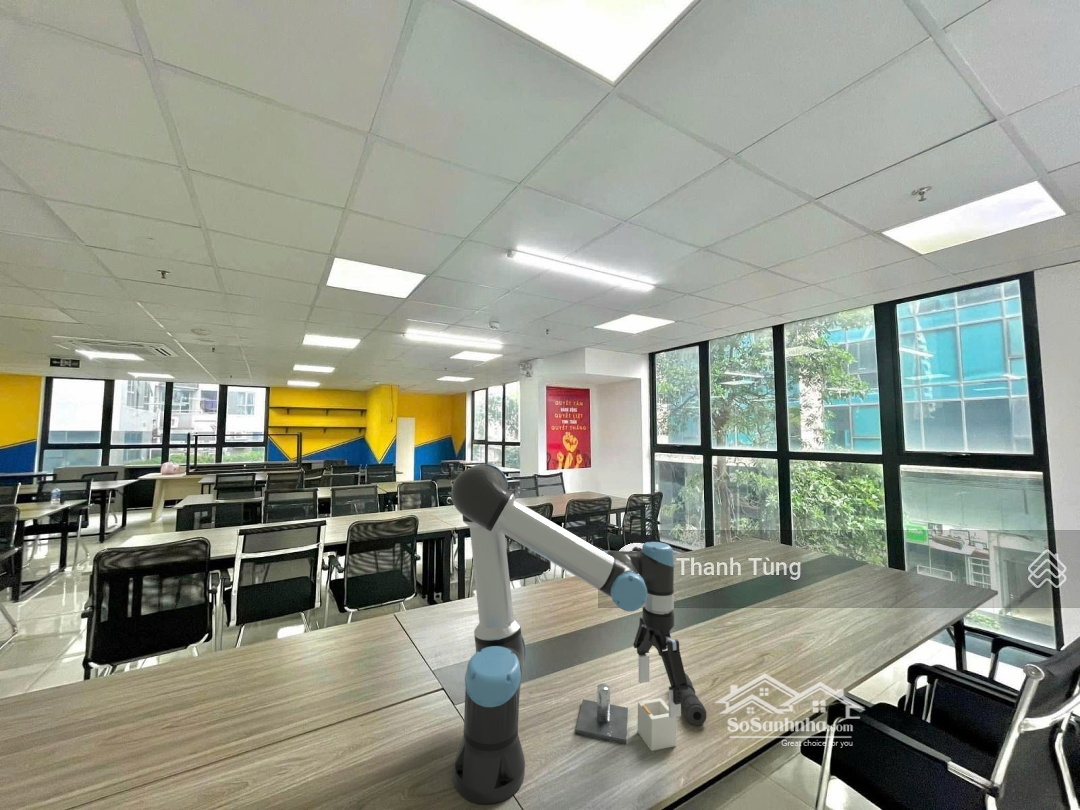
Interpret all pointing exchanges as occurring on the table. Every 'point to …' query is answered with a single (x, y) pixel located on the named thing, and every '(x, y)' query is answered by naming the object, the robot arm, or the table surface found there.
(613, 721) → the shaft block
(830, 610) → the table surface
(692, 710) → the flashlight
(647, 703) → the white hollow block
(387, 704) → the table surface
